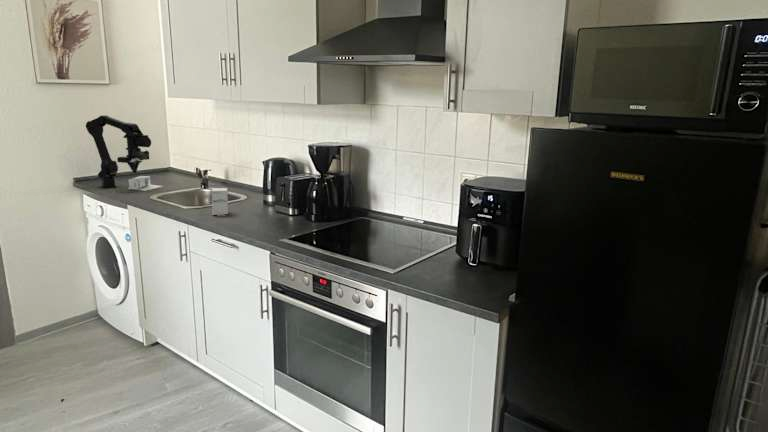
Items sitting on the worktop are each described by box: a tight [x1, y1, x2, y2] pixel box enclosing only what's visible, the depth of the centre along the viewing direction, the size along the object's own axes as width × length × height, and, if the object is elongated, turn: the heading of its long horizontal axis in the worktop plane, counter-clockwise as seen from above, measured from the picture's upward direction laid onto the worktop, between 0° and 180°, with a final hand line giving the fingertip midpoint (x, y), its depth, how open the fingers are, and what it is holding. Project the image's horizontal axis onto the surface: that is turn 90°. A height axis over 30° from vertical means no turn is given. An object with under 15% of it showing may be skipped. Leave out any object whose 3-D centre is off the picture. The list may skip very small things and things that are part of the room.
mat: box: [127, 184, 164, 192], centre depth 309 cm, size 12×15×1 cm
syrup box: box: [128, 175, 152, 190], centre depth 308 cm, size 6×6×14 cm
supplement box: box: [211, 187, 229, 216], centre depth 254 cm, size 7×7×13 cm
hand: (134, 173), depth 300 cm, fingers closed
